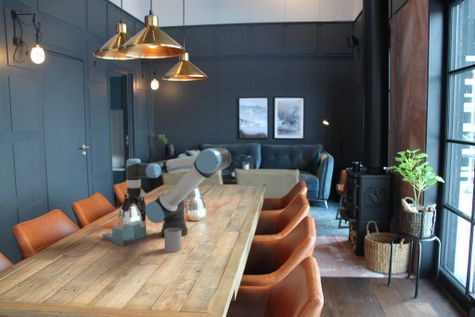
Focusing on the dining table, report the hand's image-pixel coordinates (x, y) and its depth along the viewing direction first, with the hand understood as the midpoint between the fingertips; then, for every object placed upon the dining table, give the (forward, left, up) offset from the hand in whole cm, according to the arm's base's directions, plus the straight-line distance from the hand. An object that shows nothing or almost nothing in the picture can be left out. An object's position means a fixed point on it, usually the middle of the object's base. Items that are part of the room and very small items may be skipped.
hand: (134, 224), depth 222 cm
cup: (-33, +3, -7) cm, 34 cm away
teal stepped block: (+2, +11, -7) cm, 13 cm away
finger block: (0, 0, -7) cm, 7 cm away
